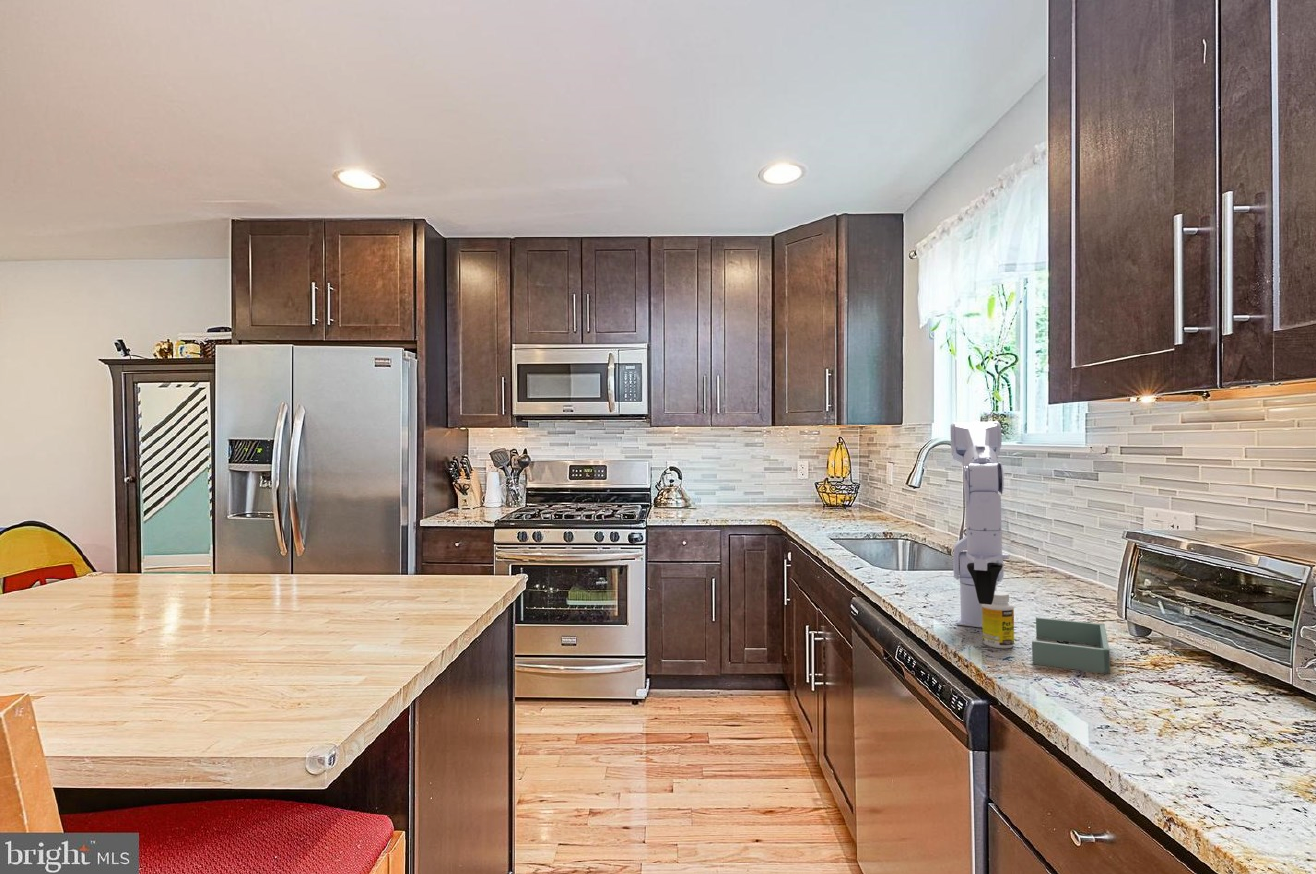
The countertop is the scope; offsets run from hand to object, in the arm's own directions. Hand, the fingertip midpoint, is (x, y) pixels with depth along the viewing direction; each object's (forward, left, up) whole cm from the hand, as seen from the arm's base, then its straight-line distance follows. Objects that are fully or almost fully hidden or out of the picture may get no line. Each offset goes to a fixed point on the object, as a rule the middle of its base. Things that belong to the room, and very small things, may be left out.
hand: (985, 603), depth 124 cm
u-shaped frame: (-11, +13, -10) cm, 20 cm away
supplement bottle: (-11, +1, -11) cm, 15 cm away
